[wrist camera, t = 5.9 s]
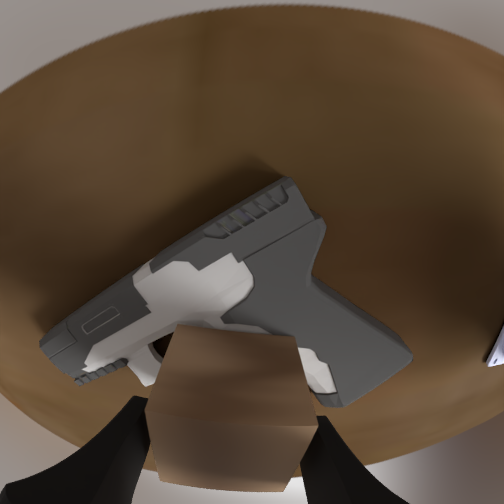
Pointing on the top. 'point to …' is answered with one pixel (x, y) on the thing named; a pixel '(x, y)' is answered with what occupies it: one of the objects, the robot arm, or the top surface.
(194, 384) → the walnut cube
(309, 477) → the robot arm
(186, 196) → the top surface
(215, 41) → the top surface
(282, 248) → the handgun
